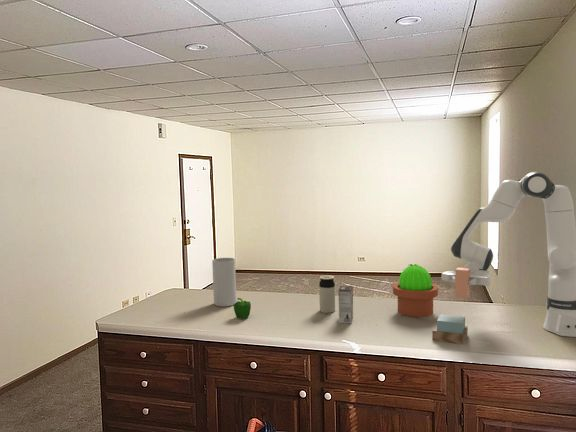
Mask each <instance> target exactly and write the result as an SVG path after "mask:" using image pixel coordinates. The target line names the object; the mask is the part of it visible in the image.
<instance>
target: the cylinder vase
mask: <svg viewBox="0 0 576 432" xmlns="http://www.w3.org/2000/svg"><path fill="white" fill-rule="evenodd" d="M211 260H212V261H211V262H212V266H211V267H212V287H213V289H212V291H213V304H214V306H216V307H222V308H224V307H232V306H234V304H235V303H236V302H237V280H236V259H235V258H234V257H218V258H213V259H211Z"/></svg>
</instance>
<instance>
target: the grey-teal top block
mask: <svg viewBox="0 0 576 432" xmlns="http://www.w3.org/2000/svg"><path fill="white" fill-rule="evenodd" d="M436 326H437V331H441V332H449V333H457V334H462V333H463V331H464V328H465V326H466V316H462V315H452V314H451V315H450V314H440V315H439V316H438V318H437V320H436Z"/></svg>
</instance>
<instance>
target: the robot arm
mask: <svg viewBox="0 0 576 432" xmlns="http://www.w3.org/2000/svg"><path fill="white" fill-rule="evenodd" d="M524 197H531V198H539V199H541V200H542V201H543V206H544V216H545V217H544V218H545V228H546V248H547V259H548V262H549V268H548V269H549V271H548V281H547V282H548V283H547V284H548V287H547V288H548V289H547V293H548V294H547V297H546V315H545V320H544V323H543V326H542V328H543V329H544V330H546V331H548V332H551V333H554V334H556V335H558V336H562V337H573V338H574V337H575V338H576V217H575V208H574V207H575V206H574V201H573V197H572V193H571V191H570V189H569V187H568V186H566V185H563V184H554V182H553V181H552V180H551V179H550V177H549V176H547V175H546V173H544V172H539V171H531V172H529V173H527V174H525V175H524V176H523V177H522V178H520V179H519V180H514V179H506V180H503V181H502V182H501V183H500V184H499V185H498V187H497V188H496V190H495V192H494V193H493V196H492V198H491V200H490V201H489V203H487V205H486V206H484V207H479V208H478V209H477V211H475V213H474V214H473V216H472V217H471V218H470V220H469V221H468V222H467V224H466V225H465V226H464V228H463V229H462V231H461V232H460V234H459V235H458V237H456V238H455V239H454V241H453V243H452V244H451V246H450V251H451V253H452V255H453V257H455V258H458V259H460V260H461V259H462V260H464V261H466V262H467V263H466V264H464V265H463V266H462V267H461V268H470V280H468V282H469V283H468V284H470V286H485V287H489V286H490V285H491V284H490V283H491V274H490V271H489V268H490V267H491V265H492V262H493V259H494V253H493V250H492V249H491V248H490V247H487V246H485V245H483V244H480V243H478V242H475V241H474V240H471V239H470V236H471V235H472V234H473V233H474V231H475V230H476V229H477V227H478V226H479V225H480V224H482V223H502V222H503V223H504V222H506V221H509V220H510V219H511V218H512V217H513V215H514V214H515V211H516V210H517V208H518V206H519V203H520V202H521V200H522V199H523V198H524ZM455 276H456V270H446V271H442V272H441V281H443V282H450V283H453V284H455Z"/></svg>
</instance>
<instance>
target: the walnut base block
mask: <svg viewBox="0 0 576 432" xmlns="http://www.w3.org/2000/svg"><path fill="white" fill-rule="evenodd" d="M468 332H469V331H468V326H467V325H465V328H464V331H463V333H462V334H457V333H449V332H441V331H437V325H436V326H435V327H434V328H433V329H432V332H431V333H432V337H431V338H432V339H431V340H432V341H438V342H445V343H449V344H450V343H451V344H456V345H463V344H464V342H465V340H466V339H467V338H468Z"/></svg>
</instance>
